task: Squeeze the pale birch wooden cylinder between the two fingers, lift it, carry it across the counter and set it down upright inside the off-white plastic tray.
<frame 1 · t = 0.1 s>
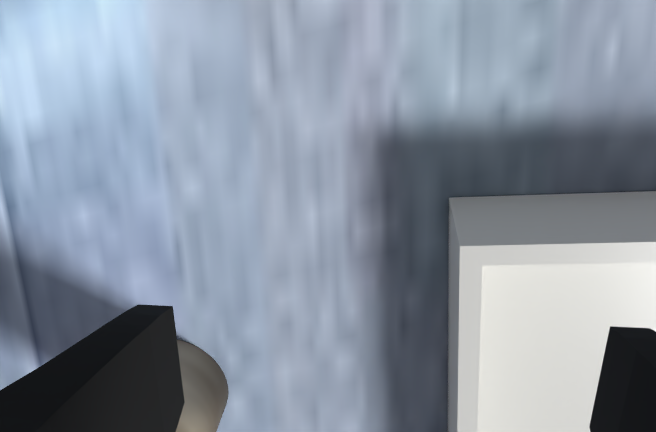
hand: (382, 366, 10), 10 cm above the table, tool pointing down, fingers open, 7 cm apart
birch cylinder: (172, 385, 24), on the table
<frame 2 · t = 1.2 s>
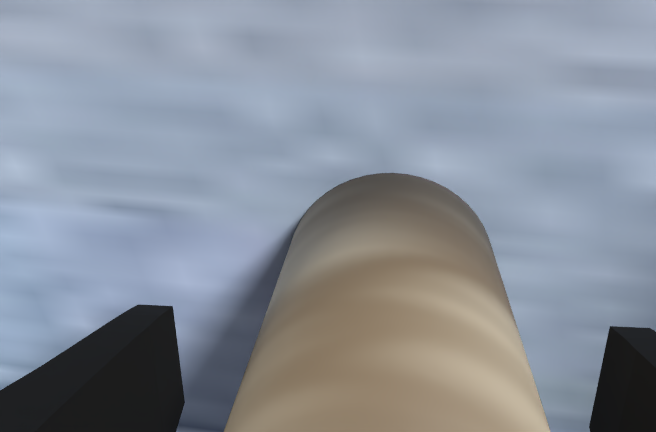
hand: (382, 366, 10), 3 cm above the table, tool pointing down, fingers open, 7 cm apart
birch cylinder: (389, 268, 13), on the table
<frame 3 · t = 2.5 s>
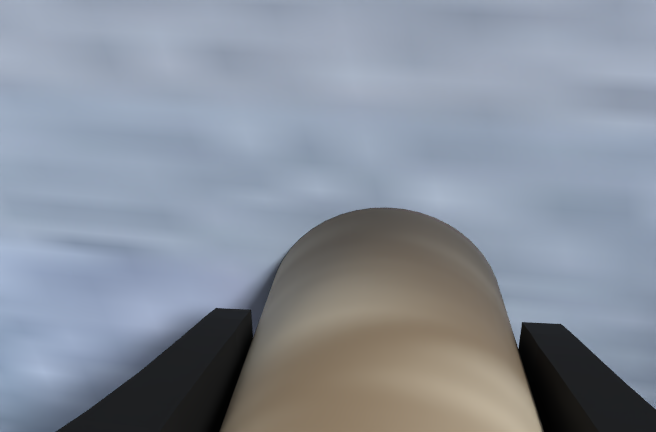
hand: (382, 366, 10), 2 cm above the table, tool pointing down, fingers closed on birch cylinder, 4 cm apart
birch cylinder: (383, 313, 12), on the table, touching gripper
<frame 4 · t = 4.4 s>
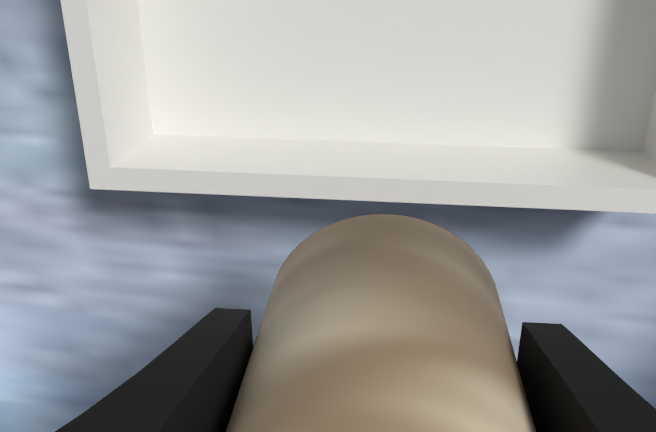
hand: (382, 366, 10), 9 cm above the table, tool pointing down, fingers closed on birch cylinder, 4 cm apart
birch cylinder: (383, 316, 12), point 7 cm above the table, touching gripper
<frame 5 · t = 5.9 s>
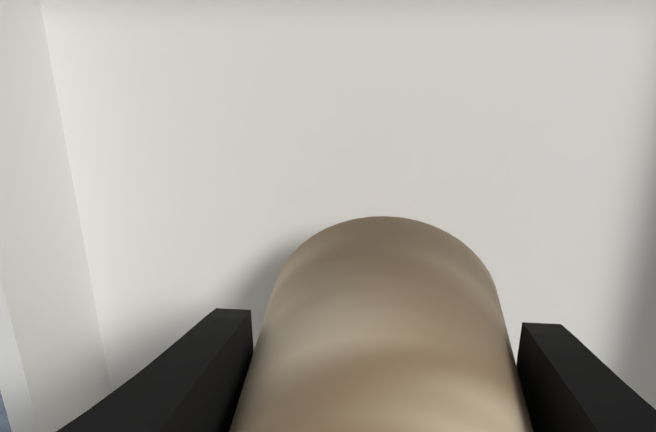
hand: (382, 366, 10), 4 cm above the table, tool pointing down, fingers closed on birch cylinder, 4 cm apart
birch cylinder: (383, 316, 12), point 2 cm above the table, touching gripper
tray: (385, 255, 14), on the table
when the fingers open (4 cm above the table, at t = 6.8 s): birch cylinder drops 2 cm, resting on tray.
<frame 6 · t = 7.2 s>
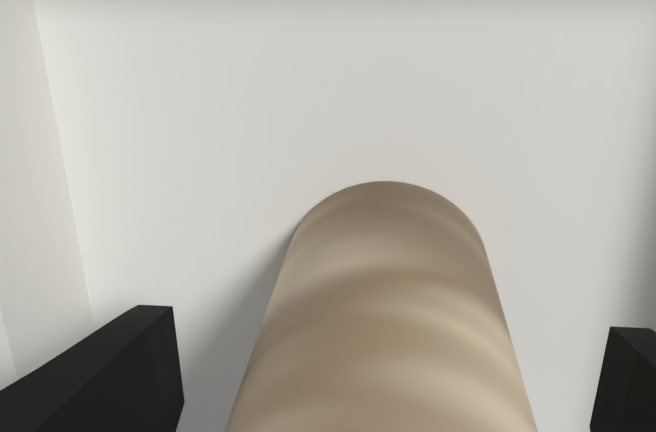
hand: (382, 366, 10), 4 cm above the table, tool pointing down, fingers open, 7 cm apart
birch cylinder: (385, 275, 13), point 1 cm above the table, touching tray
tray: (385, 258, 14), on the table
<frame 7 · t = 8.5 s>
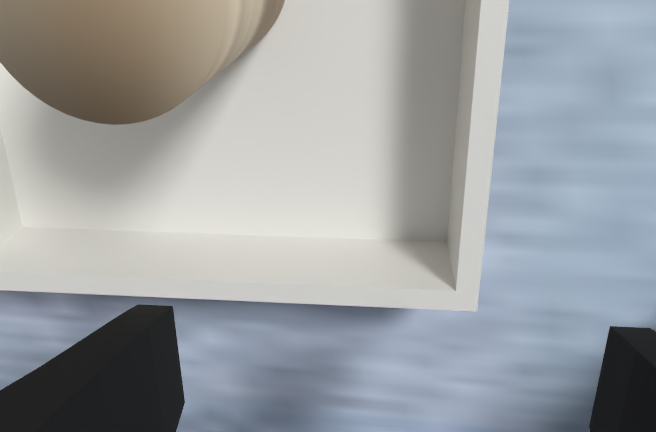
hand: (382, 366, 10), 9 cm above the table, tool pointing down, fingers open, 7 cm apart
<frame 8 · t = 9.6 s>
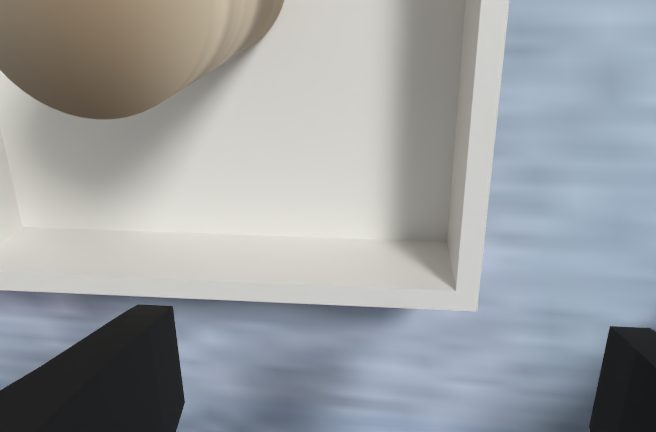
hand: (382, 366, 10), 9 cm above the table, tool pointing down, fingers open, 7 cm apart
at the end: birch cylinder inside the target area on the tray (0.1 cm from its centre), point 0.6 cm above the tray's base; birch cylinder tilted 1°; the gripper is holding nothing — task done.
